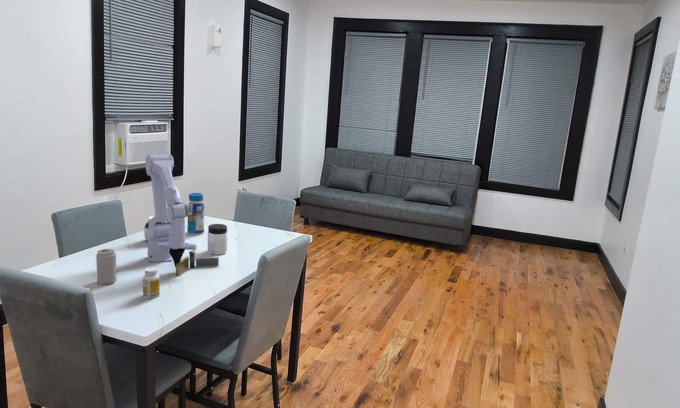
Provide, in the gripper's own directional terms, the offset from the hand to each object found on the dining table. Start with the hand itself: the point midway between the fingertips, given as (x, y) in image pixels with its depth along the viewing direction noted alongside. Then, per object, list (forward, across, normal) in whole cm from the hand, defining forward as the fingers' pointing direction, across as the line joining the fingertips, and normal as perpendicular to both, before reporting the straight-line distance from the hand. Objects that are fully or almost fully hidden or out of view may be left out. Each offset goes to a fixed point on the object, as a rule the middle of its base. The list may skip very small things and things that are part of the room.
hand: (177, 266), depth 192 cm
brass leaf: (+2, +2, 0) cm, 3 cm away
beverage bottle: (+2, -6, +53) cm, 54 cm away
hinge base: (+2, +9, +7) cm, 11 cm away
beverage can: (+2, -22, -14) cm, 26 cm away
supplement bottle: (+2, -2, -23) cm, 24 cm away
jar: (+2, +10, +26) cm, 29 cm away
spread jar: (+2, -18, +38) cm, 42 cm away
